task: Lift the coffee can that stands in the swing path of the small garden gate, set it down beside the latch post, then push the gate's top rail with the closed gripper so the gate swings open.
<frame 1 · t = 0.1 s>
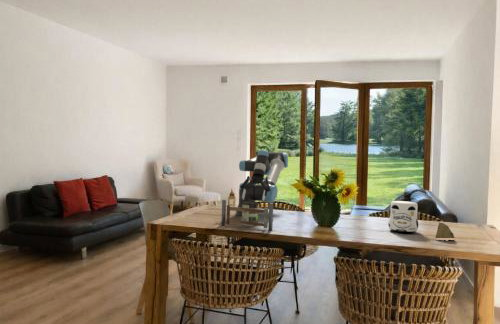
hand: (252, 199, 270), 15 cm above the table, tool tilted 35°, fingers open, 13 cm apart
gate leaf: (246, 216, 256), point 7 cm above the table, hinge at 0.0°
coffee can: (249, 224, 267), on the table
milk container: (402, 232, 260), on the table
gate posts: (227, 226, 260), on the table
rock: (445, 241, 239), on the table
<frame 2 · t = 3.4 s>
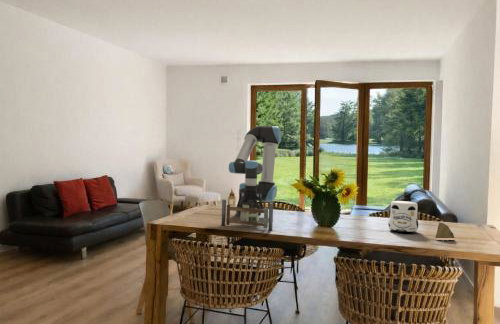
hand: (249, 220, 267), 3 cm above the table, tool pointing down, fingers closed on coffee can, 10 cm apart
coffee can: (249, 224, 267), on the table, touching gripper
everything else where it was.
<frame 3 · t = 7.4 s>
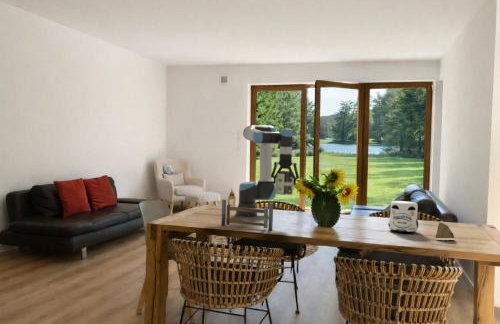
hand: (284, 189, 262), 23 cm above the table, tool pointing down, fingers closed on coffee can, 10 cm apart
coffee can: (284, 194, 262), point 20 cm above the table, touching gripper
everything else where it was.
when the fingers open (5 cm above the table, at t = 11.3 s): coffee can drops 2 cm, on the table.
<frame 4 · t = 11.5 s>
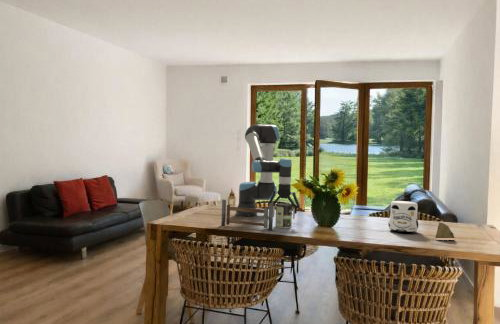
hand: (283, 217, 263), 6 cm above the table, tool pointing down, fingers open, 12 cm apart
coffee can: (283, 227, 263), on the table
everything else where it was.
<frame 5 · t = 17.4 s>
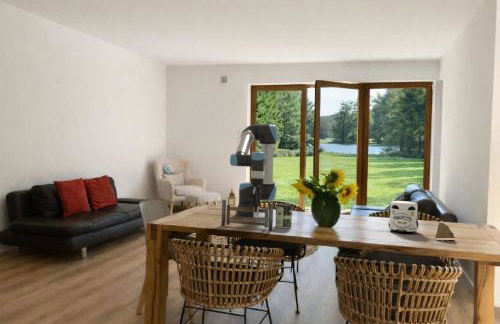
hand: (256, 217, 252), 7 cm above the table, tool pointing down, fingers closed
gate leaf: (247, 216, 257), point 7 cm above the table, hinge at 3.7°, touching gripper
everything else where it was.
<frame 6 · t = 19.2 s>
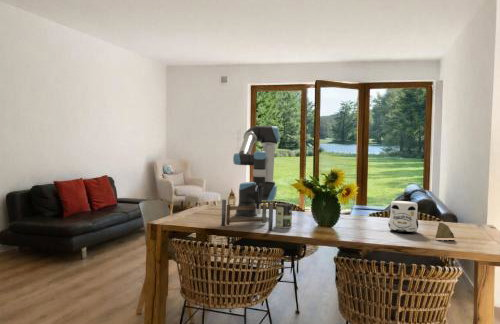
hand: (257, 213, 263), 7 cm above the table, tool pointing down, fingers closed
gate leaf: (246, 214, 264), point 7 cm above the table, hinge at 39.0°, touching gripper
everything else where it was.
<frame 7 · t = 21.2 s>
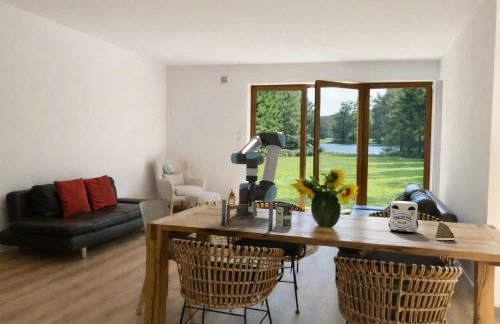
hand: (250, 211, 272), 7 cm above the table, tool pointing down, fingers closed
gate leaf: (241, 212, 268), point 7 cm above the table, hinge at 67.1°, touching gripper
everything else where it was.
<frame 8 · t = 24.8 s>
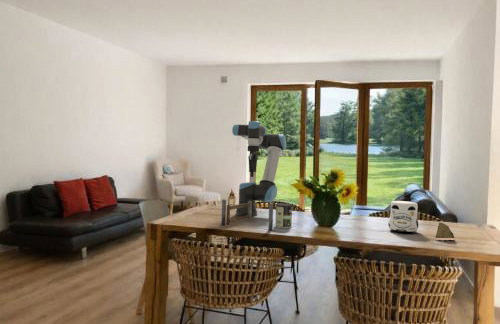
hand: (252, 181, 272), 26 cm above the table, tool pointing down, fingers closed
gate leaf: (239, 212, 269), point 7 cm above the table, hinge at 74.3°
everything else where it was.
at the end: gate leaf at +74° (first picture: +0°); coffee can inside the target area (0.5 cm from its centre), on the table; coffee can tilted 0° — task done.
